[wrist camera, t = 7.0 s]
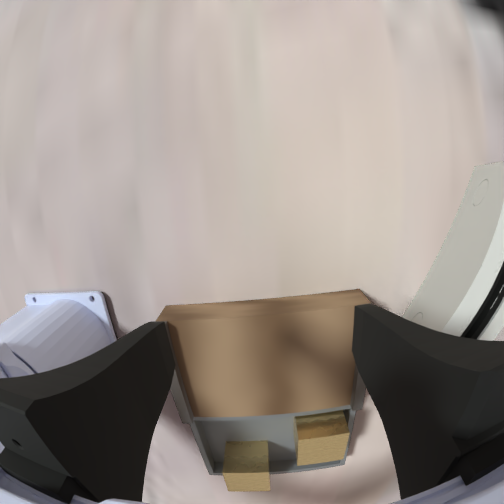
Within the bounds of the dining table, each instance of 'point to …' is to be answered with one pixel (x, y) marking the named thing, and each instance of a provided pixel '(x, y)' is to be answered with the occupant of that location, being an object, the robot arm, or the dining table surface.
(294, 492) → the dining table surface
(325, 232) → the dining table surface
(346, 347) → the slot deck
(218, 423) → the tray
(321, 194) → the dining table surface
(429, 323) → the light grey rounded slab
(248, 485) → the wooden cube
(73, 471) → the robot arm
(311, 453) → the tan wooden cube
